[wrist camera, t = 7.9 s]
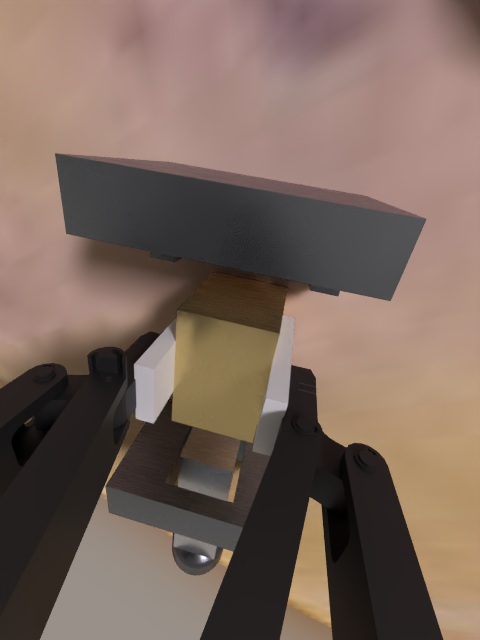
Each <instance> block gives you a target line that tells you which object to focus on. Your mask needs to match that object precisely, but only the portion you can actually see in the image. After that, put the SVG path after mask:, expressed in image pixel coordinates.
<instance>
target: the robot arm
mask: <svg viewBox="0 0 480 640" xmlns="http://www.w3.org/2000/svg"><path fill="white" fill-rule="evenodd" d="M176 320H177V317H176V318H175V319H174V320H173V322H172V323H171V324H170V325H169V326H168V327H167V328H166V329H165V330H164V332H163V333H162V334H158V333H154V332H149V333H146V334H144V335H142V336H140V337H139V338H138V339H137V340H136V341H135V343H133V344H132V345H131V346H130V348H128V349H127V350H126V351H125V352H124V351H123V350H121V349H119V348H115V347H104V348H99V349H96V350H94V351H92V352H91V353H89V354H88V355H87V357H88V364H89V372H90V374H89V375H67V371H66V369H65V367H64V366H62V365H60V364H54V363H50V364H42V365H39V366H36V367H34V368H32V369H30V370H28V371H27V372H25V373H24V374H22V375H21V376H19V377H18V378H16V379H15V380H13V381H12V382H10V383H9V384H7V385H6V386H4V387H3V388H1V389H0V640H40V638H41V635H42V633H43V630H44V628H45V626H46V623H47V621H48V619H49V616H50V614H51V611H52V609H53V607H54V604H55V602H56V599H57V597H58V595H59V592H60V590H61V587H62V585H63V583H64V580H65V578H66V576H67V573H68V571H69V568H70V566H71V564H72V561H73V559H74V557H75V554H76V552H77V550H78V547H79V545H80V542H81V540H82V537H83V535H84V533H85V530H86V528H87V525H88V523H89V521H90V519H91V516H92V514H93V511H94V509H95V507H96V504H97V502H98V500H99V497H100V495H101V492H102V490H103V488H104V485H105V483H106V481H107V478H108V476H109V473H110V471H111V469H112V466H113V464H114V461H115V459H116V457H117V454H118V452H119V450H120V447H121V445H122V442H123V440H124V438H125V435H126V433H127V431H128V428H129V424H130V416H131V414H132V413H133V412H134V410H135V409H136V419H139V420H142V421H146V422H149V423H153V424H154V422H155V421H156V419H157V417H158V416H159V414H160V412H161V411H162V409H163V408H164V406H165V404H166V403H167V401H168V399H169V398H170V396H171V394H172V393H173V389H174V369H175V349H176V341H175V340H176ZM294 322H295V318H293V317H289V316H284V315H283V317H282V323H281V329H280V335H279V339H278V343H277V347H276V351H275V355H274V359H273V363H272V366H271V370H270V374H269V378H268V382H267V386H266V390H265V394H264V398H263V402H262V406H261V410H260V414H259V419H258V424H257V430H256V435H255V440H254V445H253V450H252V451H253V452H257V453H261V454H264V455H268V456H271V457H270V459H269V462H268V464H267V467H266V470H265V472H264V475H263V477H262V480H261V482H260V485H259V488H258V490H257V493H256V495H255V498H254V501H253V503H252V506H251V508H250V511H249V514H248V516H247V519H246V521H245V524H244V527H243V529H242V532H241V534H240V537H239V539H238V542H237V545H236V547H235V550H234V552H233V555H232V558H231V560H230V563H229V565H228V568H227V571H226V573H225V576H224V578H223V581H222V584H221V586H220V589H219V591H218V594H217V596H216V599H215V602H214V605H213V607H212V610H211V612H210V615H209V617H208V620H207V623H206V625H205V628H204V630H203V633H202V636H201V638H200V640H280V635H281V630H282V626H283V621H284V616H285V611H286V606H287V602H288V597H289V592H290V588H291V583H292V578H293V573H294V569H295V564H296V559H297V554H298V550H299V545H300V540H301V535H302V531H303V526H304V521H305V516H306V512H307V507H308V502H309V497H311V498H313V499H314V500H316V501H317V502H319V503H320V504H322V516H323V528H324V540H325V553H326V565H327V577H328V589H329V601H330V613H331V625H332V636H333V640H443V637H442V634H441V631H440V628H439V625H438V622H437V618H436V615H435V612H434V609H433V606H432V603H431V600H430V597H429V593H428V590H427V587H426V584H425V581H424V578H423V575H422V571H421V568H420V565H419V562H418V559H417V556H416V553H415V550H414V546H413V543H412V540H411V537H410V534H409V531H408V528H407V524H406V521H405V518H404V515H403V512H402V509H401V506H400V503H399V499H398V496H397V493H396V490H395V487H394V484H393V481H392V477H391V474H390V471H389V468H388V465H387V464H386V462H385V460H384V458H383V457H382V456H381V455H380V454H379V453H378V452H377V451H376V450H374V449H373V448H371V447H370V446H367V445H364V444H361V443H353V444H350V445H348V447H347V448H346V447H344V446H342V445H340V444H339V443H337V442H335V441H333V440H332V439H330V438H329V437H328V436H327V435H326V434H324V432H323V431H322V428H321V426H320V424H319V423H318V419H317V397H316V378H315V376H314V374H313V373H312V371H311V370H310V369H306V368H302V367H297V366H293V365H291V360H292V347H293V335H294ZM31 417H32V420H31V421H30V422H28V423H27V424H25V425H24V423H25V422H26V421H27V420H29V419H30V418H31Z"/></svg>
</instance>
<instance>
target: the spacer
mask: <svg viewBox="0 0 480 640" xmlns="http://www.w3.org/2000/svg"><path fill="white" fill-rule="evenodd" d="M287 288H288V287H283V286H279V285H274V284H269V283H265V282H260V281H255V280H251V279H246V278H241V277H237V276H232V275H227V274H222V273H218V272H213V273H212V274H211V275H210V276H209V277H208V278H207V279H206V280H205V281H204V282H203V283H202V284H201V285H200V286H199V287H198V289H197V290H196V291H195V292H194V293H193V294H192V295H191V296H190V297H189V298H188V299H187V300H186V301H185V302H184V303H183V304H182V305H181V306H180V307H179V308H178V309H177V320H176V340H175V341H176V349H175V369H174V389H173V402H172V421H175V422H179V423H182V424H186V425H190V426H193V427H197V428H200V429H204V430H208V431H211V432H215V433H218V434H222V435H226V436H229V437H233V438H236V439H240V440H244V441H247V442H251V443H253V439H254V435H255V431H256V427H257V423H258V419H259V414H260V410H261V406H262V402H263V398H264V394H265V390H266V386H267V382H268V378H269V374H270V370H271V366H272V363H273V359H274V355H275V351H276V347H277V343H278V339H279V335H280V329H281V323H282V317H283V312H284V306H285V300H286V294H287Z"/></svg>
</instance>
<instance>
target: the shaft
mask: <svg viewBox="0 0 480 640" xmlns="http://www.w3.org/2000/svg"><path fill="white" fill-rule="evenodd" d="M240 441H241V440H240V439H236V438H233V437H229V436H226V435H222V434H218V433H215V432H211V431H208V430H204V429H200V428H197V427H193V428H192V430H191V433H190V435H189V437H188V440H187V442H186V444H185V446H184V449H183V451H182V453H181V456H180V464H179V478H178V487H181V488H184V489H188V490H191V491H194V492H198V493H201V494H205V495H208V496H211V497H215V498H218V499H221V500H225V501H227V500H228V496H229V491H230V487H231V482H232V478H233V473H234V468H235V464H236V459H237V455H238V450H239V446H240ZM172 552H173V557H174V560H175V562H176V564H177V565H178V567H179V568H180V569H181V570H182V571H184V572H186V573H187V574H190V575H202V574H205V573H207V572H209V571H210V570H211V569H212V568H214V567H215V566H216V564H217V563H218V562H219V560H220V558H221V555H222V552H223V548H221V547H217V546H214V545H211V544H208V543H205V542H201V541H198V540H195V539H192V538H189V537H185V536H182V535H179V534H176V533H173V541H172Z"/></svg>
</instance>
